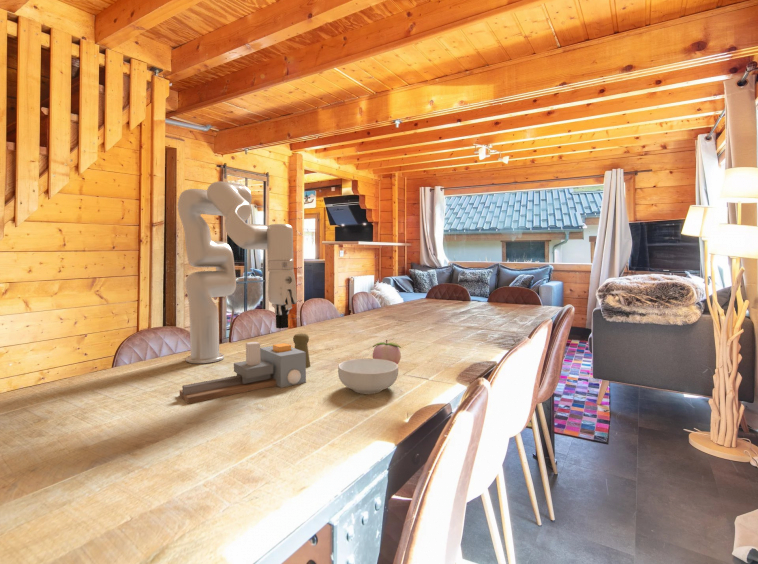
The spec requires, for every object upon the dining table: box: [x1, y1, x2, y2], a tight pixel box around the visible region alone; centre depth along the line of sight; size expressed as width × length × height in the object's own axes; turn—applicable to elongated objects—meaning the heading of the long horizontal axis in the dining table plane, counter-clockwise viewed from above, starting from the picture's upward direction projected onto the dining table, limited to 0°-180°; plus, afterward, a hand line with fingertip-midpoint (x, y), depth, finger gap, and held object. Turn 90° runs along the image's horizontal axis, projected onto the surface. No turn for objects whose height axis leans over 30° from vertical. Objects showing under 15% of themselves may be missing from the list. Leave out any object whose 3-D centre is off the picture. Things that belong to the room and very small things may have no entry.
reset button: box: [272, 342, 292, 353], centre depth 129 cm, size 4×4×4 cm
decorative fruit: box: [372, 339, 402, 365], centre depth 139 cm, size 9×8×10 cm
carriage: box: [233, 341, 274, 384], centre depth 123 cm, size 9×8×10 cm
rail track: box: [179, 374, 277, 405], centre depth 119 cm, size 8×24×4 cm, turn 130°
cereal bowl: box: [337, 358, 399, 395], centre depth 119 cm, size 17×17×7 cm
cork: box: [292, 332, 311, 369], centre depth 144 cm, size 6×6×11 cm
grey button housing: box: [260, 345, 307, 389], centre depth 129 cm, size 15×8×9 cm, turn 40°
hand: (282, 327), depth 128 cm, fingers closed
